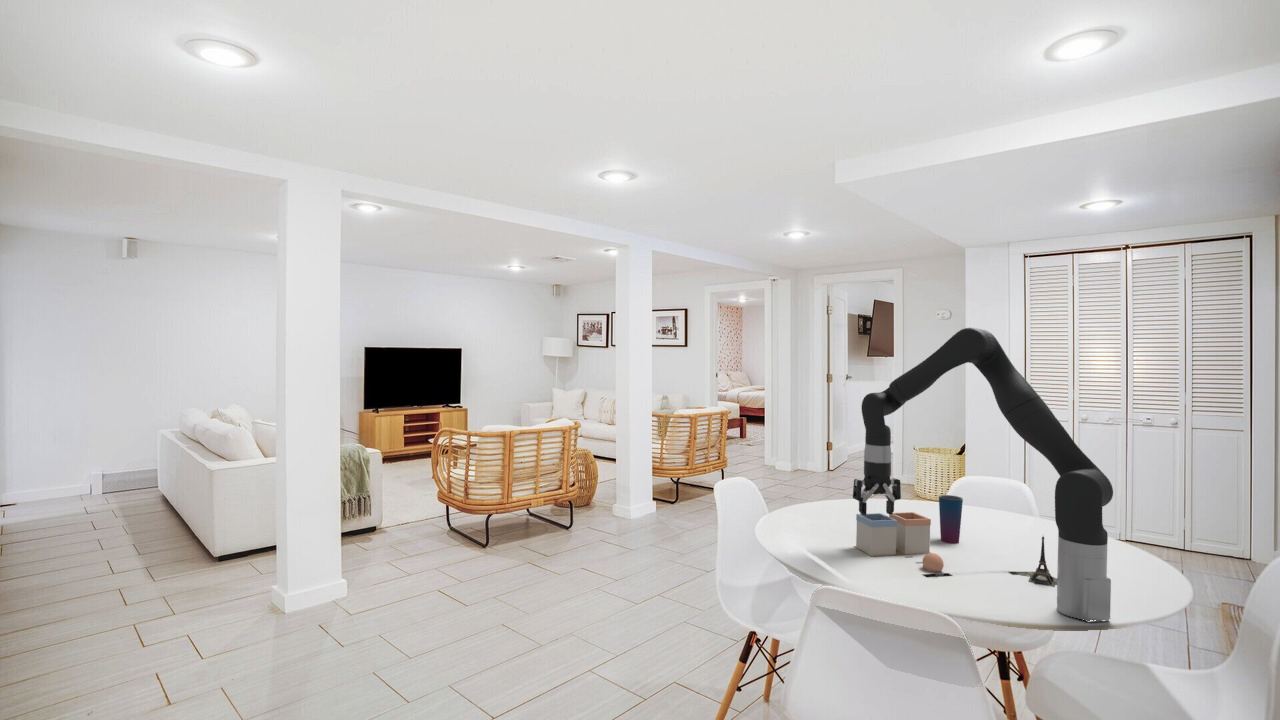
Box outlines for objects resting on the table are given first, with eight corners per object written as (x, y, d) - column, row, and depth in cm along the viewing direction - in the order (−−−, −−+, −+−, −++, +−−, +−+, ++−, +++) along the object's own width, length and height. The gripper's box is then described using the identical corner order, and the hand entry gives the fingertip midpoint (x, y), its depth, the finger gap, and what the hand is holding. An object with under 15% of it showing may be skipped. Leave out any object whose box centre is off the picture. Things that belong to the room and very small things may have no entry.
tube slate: (896, 554, 179) (897, 520, 179) (870, 555, 178) (871, 521, 178) (880, 546, 187) (881, 513, 187) (855, 547, 186) (856, 514, 186)
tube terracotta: (930, 553, 182) (930, 519, 181) (905, 554, 180) (905, 520, 180) (912, 544, 190) (913, 512, 190) (888, 545, 188) (889, 513, 188)
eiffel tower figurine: (1085, 593, 156) (1086, 541, 156) (1049, 594, 155) (1050, 541, 155) (1040, 572, 171) (1040, 524, 171) (1006, 573, 170) (1007, 525, 170)
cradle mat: (953, 576, 165) (953, 572, 165) (926, 578, 164) (926, 573, 164) (920, 559, 179) (920, 555, 179) (895, 561, 177) (895, 556, 177)
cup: (964, 548, 190) (965, 500, 190) (941, 547, 192) (942, 499, 191) (958, 542, 197) (959, 495, 197) (935, 540, 198) (936, 494, 198)
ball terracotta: (947, 575, 165) (948, 556, 165) (930, 576, 164) (930, 557, 164) (934, 568, 170) (935, 550, 170) (918, 569, 169) (918, 551, 169)
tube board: (933, 558, 181) (933, 553, 181) (871, 561, 177) (871, 556, 177) (911, 547, 191) (912, 543, 191) (852, 550, 187) (852, 546, 187)
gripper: (862, 462, 178) (861, 518, 178) (906, 461, 180) (905, 516, 180) (848, 457, 185) (847, 511, 185) (891, 457, 188) (890, 510, 188)
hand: (876, 514), depth 183 cm, fingers open, 8 cm apart
